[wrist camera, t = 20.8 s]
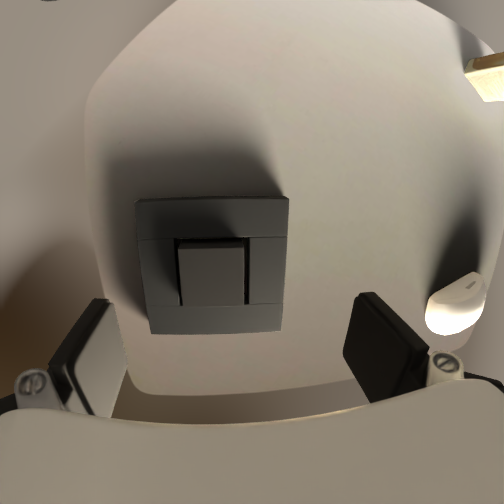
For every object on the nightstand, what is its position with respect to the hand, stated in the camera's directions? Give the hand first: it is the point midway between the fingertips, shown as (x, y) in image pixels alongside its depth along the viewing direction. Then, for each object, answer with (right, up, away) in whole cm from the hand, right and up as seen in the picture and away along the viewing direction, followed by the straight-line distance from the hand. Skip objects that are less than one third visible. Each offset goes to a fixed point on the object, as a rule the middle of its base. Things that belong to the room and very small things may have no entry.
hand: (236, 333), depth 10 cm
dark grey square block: (-4, +1, +20) cm, 20 cm away
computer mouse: (+33, -4, +26) cm, 43 cm away
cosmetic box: (+35, +30, +15) cm, 49 cm away
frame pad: (-4, +1, +20) cm, 20 cm away
